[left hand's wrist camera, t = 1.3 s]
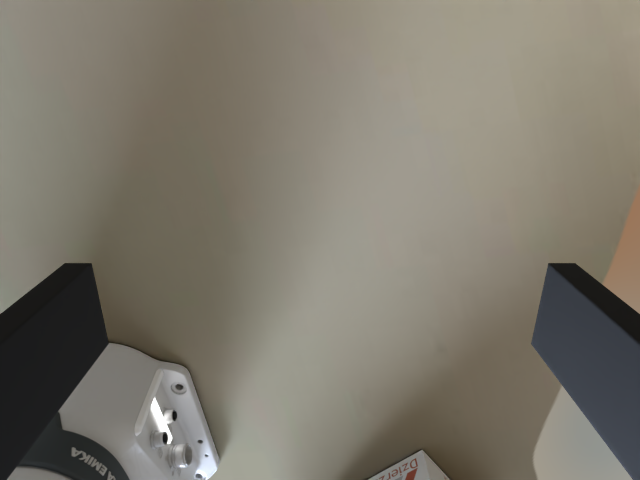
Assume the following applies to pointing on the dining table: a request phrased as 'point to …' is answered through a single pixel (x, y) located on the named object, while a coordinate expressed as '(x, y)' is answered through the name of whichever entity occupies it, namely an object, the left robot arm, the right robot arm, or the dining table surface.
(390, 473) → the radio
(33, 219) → the dining table surface
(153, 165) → the dining table surface
